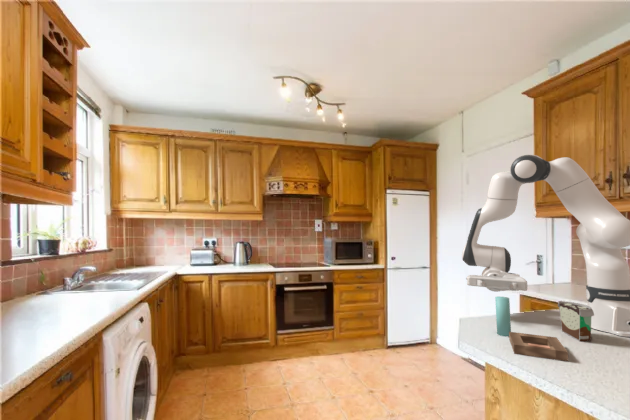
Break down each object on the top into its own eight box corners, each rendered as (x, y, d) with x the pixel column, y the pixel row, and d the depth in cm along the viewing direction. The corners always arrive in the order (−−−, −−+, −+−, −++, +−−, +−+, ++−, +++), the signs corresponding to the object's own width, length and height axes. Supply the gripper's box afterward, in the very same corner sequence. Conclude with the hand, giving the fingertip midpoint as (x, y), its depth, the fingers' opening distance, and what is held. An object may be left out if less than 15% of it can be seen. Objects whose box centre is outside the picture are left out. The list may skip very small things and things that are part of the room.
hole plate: (556, 345, 91) (556, 336, 91) (568, 361, 80) (567, 351, 80) (509, 339, 96) (508, 331, 96) (514, 353, 85) (513, 343, 86)
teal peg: (510, 333, 102) (508, 297, 103) (511, 337, 98) (510, 299, 99) (496, 331, 104) (494, 296, 104) (497, 335, 100) (495, 298, 101)
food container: (606, 344, 92) (604, 310, 92) (582, 343, 93) (580, 309, 93) (579, 331, 104) (577, 301, 104) (559, 330, 105) (557, 300, 105)
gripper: (466, 270, 130) (466, 274, 118) (523, 274, 121) (529, 279, 109) (466, 285, 130) (466, 291, 117) (524, 290, 120) (530, 297, 108)
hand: (497, 285), depth 113 cm, fingers open, 8 cm apart
